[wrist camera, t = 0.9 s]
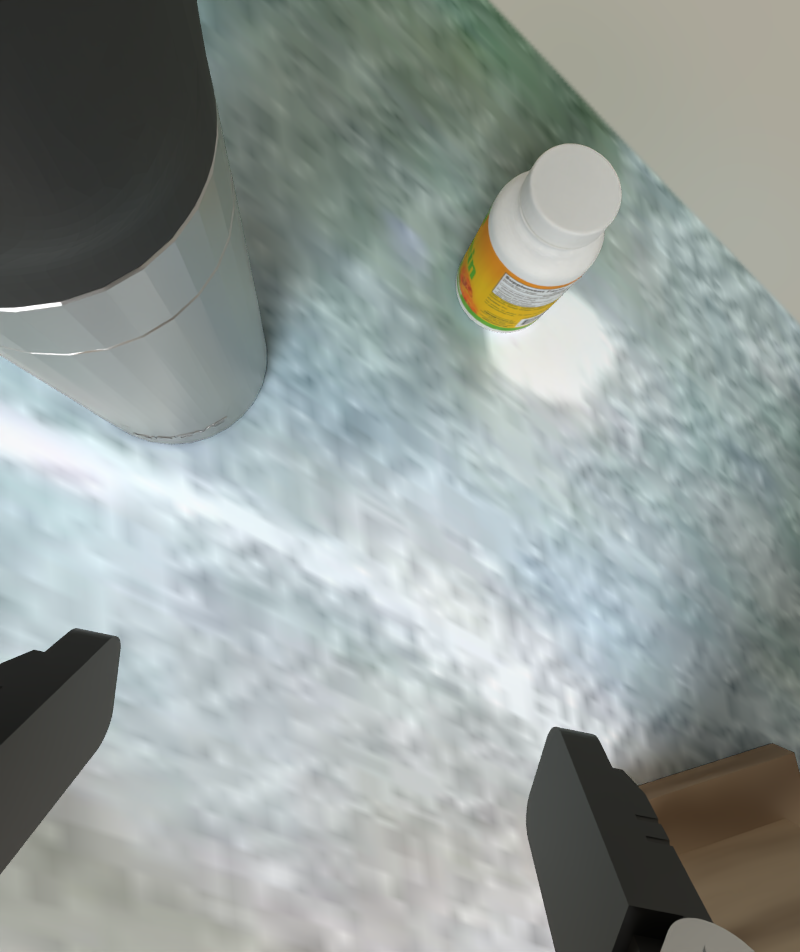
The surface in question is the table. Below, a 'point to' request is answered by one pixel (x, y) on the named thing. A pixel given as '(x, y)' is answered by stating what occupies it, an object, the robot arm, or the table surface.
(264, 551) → the table surface
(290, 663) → the table surface
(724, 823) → the walnut stand
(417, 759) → the table surface
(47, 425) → the table surface
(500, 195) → the supplement bottle
